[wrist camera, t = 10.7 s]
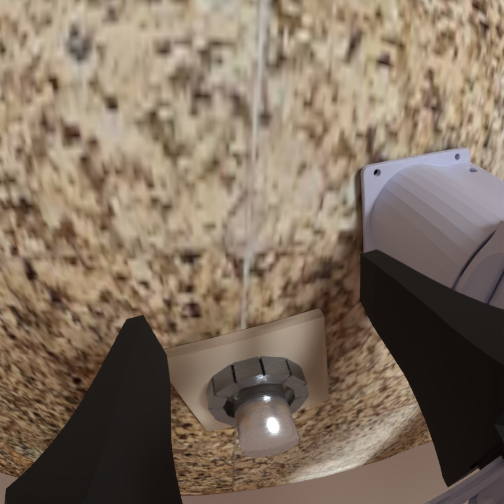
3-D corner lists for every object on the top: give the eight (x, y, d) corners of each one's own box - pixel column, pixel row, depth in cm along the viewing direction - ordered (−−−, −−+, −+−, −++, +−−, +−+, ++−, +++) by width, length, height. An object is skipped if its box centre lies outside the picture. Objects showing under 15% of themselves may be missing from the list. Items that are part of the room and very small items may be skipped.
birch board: (319, 307, 24) (324, 316, 23) (325, 392, 31) (328, 400, 30) (156, 351, 24) (155, 360, 23) (206, 423, 31) (207, 431, 30)
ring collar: (297, 344, 24) (304, 362, 23) (305, 396, 29) (311, 411, 28) (194, 371, 24) (195, 390, 23) (222, 418, 29) (225, 433, 27)
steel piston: (267, 364, 25) (286, 428, 20) (288, 386, 27) (306, 443, 22) (219, 385, 25) (230, 448, 20) (245, 404, 28) (257, 460, 23)
